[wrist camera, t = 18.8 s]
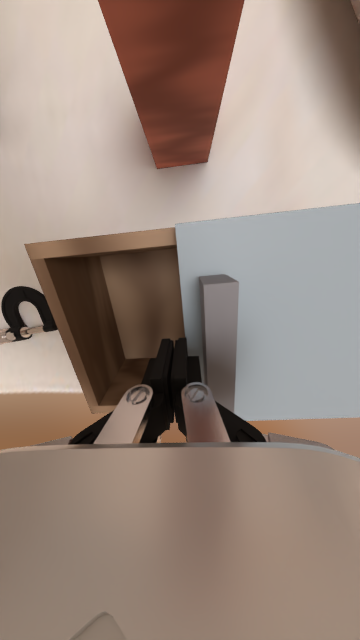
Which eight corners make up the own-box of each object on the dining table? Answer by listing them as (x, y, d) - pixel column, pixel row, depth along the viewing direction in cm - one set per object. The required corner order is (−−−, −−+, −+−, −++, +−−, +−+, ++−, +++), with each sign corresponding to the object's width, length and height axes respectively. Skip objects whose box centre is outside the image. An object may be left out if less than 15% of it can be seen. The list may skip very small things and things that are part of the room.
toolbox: (122, 361, 26) (91, 413, 17) (92, 247, 20) (24, 244, 11) (285, 351, 24) (338, 404, 16) (306, 225, 18) (409, 201, 10)
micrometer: (43, 280, 22) (26, 284, 19) (67, 329, 24) (54, 337, 22) (-52, 302, 23) (-79, 307, 21) (-20, 345, 26) (-40, 354, 24)
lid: (192, 412, 16) (194, 459, 13) (175, 226, 10) (169, 211, 7) (381, 406, 15) (444, 456, 11) (483, 192, 9) (685, 151, 5)
